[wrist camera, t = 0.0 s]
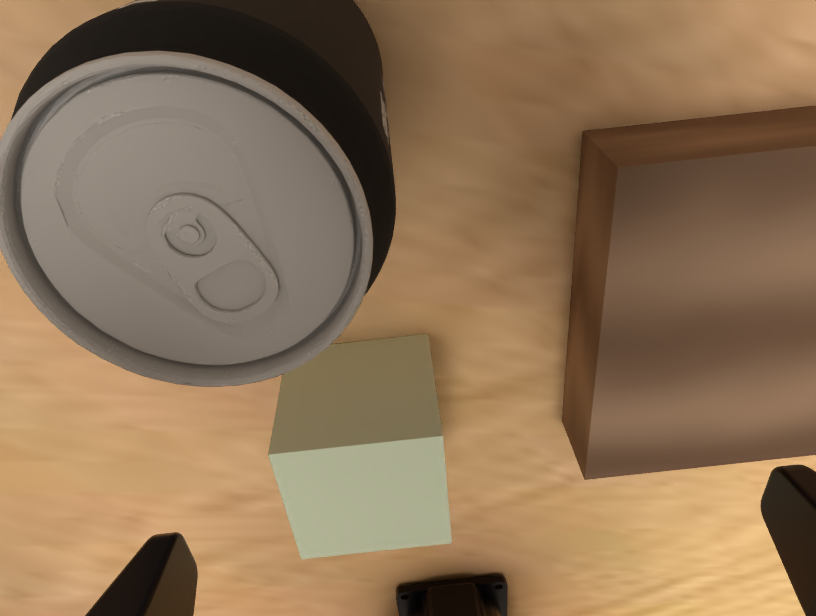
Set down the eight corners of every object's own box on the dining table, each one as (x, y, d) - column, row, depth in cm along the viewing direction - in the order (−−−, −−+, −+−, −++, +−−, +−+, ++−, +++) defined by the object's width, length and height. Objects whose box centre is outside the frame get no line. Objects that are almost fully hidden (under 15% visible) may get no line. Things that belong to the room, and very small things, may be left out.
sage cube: (437, 433, 29) (451, 543, 24) (312, 446, 29) (301, 559, 24) (428, 332, 26) (442, 435, 21) (287, 347, 26) (268, 454, 21)
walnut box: (847, 383, 29) (909, 444, 26) (559, 414, 29) (584, 479, 26) (970, 84, 21) (1082, 116, 18) (578, 127, 21) (618, 167, 18)
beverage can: (313, -93, 17) (240, -90, 7) (416, 116, 20) (466, 317, 10) (127, 24, 18) (-155, 165, 8) (253, 201, 22) (159, 451, 12)
